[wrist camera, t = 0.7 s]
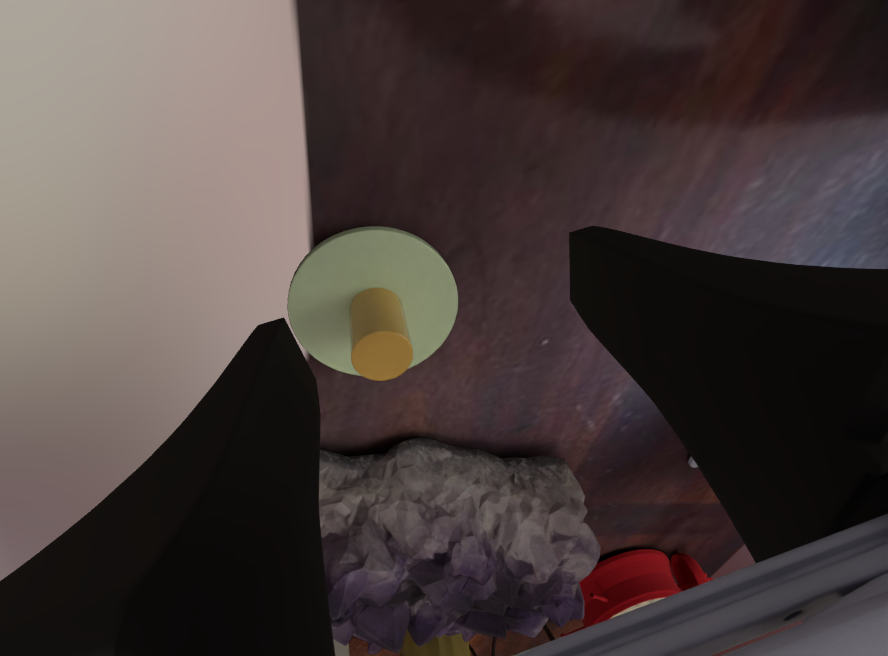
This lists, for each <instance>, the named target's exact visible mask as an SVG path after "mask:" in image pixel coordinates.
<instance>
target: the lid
mask: <svg viewBox="0 0 888 656" xmlns="http://www.w3.org/2000/svg"><path fill="white" fill-rule="evenodd" d="M457 309H458V292H457V286H456V283H455V280H454V277H453V274H452V272H451V270H450V269H449V267H448V265H447V263H446V262H445V260H444V259H443V257H442V256H441V255H440V254H439V253H438V252H437V251H436V250H435V249H434V248H433V247H432V246H431V245H430V244H428V243H427V242H426V241H424V240H422V239H421V238H419V237H417V236H415V235H413V234H411V233H408V232H406V231H402V230H399V229H395V228H389V227H382V226H368V227H360V228H354V229H350V230H346V231H343V232H341V233H338V234H336V235H333V236H332V237H330V238H328V239H326V240H324V241H323V242H321V243H320V244H319V245H317V246H316V247H314V248H313V249H312V250H311V251H310V252H309V253H308V254H307V255H306V256H305V258H304V259H303V260H302V262H301V263H300V264H299V266H298V268H297V270H296V271H295V274H294V276H293V279H292V281H291V285H290V289H289V295H288V315H289V320H290V324H291V327H292V329H293V331H294V333H295V335H296V337H297V339H298V340H299V342H300V343H301V345H302V346H303V347H304V348H305V349H306V350H307V352H309V353H310V354H311V355H312V356H313V357H314V358H315V359H317V360H318V361H320V362H321V363H323V364H325V365H327V366H329V367H331V368H333V369H335V370H338V371H341V372H344V373H348V374H352V375H359V376H363V377H365V378H368V379H371V380H376V381H384V380H390V379H393V378H396V377H398V376H399V375H401V374H402V373H404V372H405V371H406V370H407V369H409V368H411V367H413V366H415V365H417V364H419V363H420V362H422V361H424V360H425V359H427V358H428V357H429V356H430V355H432V354H433V353H434V352H435V351H436V350H437V349H438V348H439V347H440V346H441V345H442V343H443V342H444V341H445V339H446V338H447V336H448V335H449V333H450V331H451V329H452V327H453V324H454V322H455V319H456V315H457Z"/></svg>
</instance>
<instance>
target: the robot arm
mask: <svg viewBox="0 0 888 656" xmlns="http://www.w3.org/2000/svg"><path fill="white" fill-rule="evenodd" d="M569 249H570V301H571V302H572V304H573V305H574V307H575V309H576V310H577V312H578V313H579V315H580V316H581V318H582V319H583V321H584V322H585V324H586V325H587V327H588V328H589V330H590V331H591V332H592V333H593V334H594V335H595V337H596V338H597V339H598V340H599V341H600V342H601V343H602V344H603V346H604V347H605V348H606V349H607V350H608V351H609V352H610V353H611V355H612V356H613V357H614V358H615V359H616V360H617V361H618V362H619V363H620V365H621V366H622V367H623V368H624V369H625V370H626V371H627V372H628V373H629V375H630V376H631V377H632V378H633V379H634V380H635V381H636V382H637V383H638V384H639V386H640V387H641V388H642V389H643V390H644V391H645V393H646V394H647V395H648V396H649V397H650V399H651V400H652V401H653V402H654V404H655V405H656V406H657V408H658V409H659V411H660V412H661V413H662V415H663V416H664V418H665V419H666V420H667V422H668V423H669V425H670V426H671V427H672V429H673V430H674V432H675V433H676V434H677V436H678V437H679V439H680V440H681V442H682V443H683V445H684V446H685V448H686V449H687V451H688V452H689V454H690V455H691V456H690V459H689V461H688V463H689V465H690V466H691V467H693V468H696V467H699V469H700V470H701V472H702V473H703V475H704V477H705V478H706V480H707V481H708V483H709V485H710V486H711V488H712V489H713V491H714V493H715V494H716V496H717V497H718V499H719V501H720V502H721V504H722V505H723V507H724V509H725V510H726V512H727V514H728V515H729V517H730V519H731V521H732V522H733V524H734V526H735V527H736V529H737V531H738V533H739V534H740V536H741V538H742V540H743V541H744V543H745V545H746V546H747V548H748V550H749V552H750V553H751V555H752V557H753V559H754V561H755V562H756V564H754V565H751V566H748V567H745V568H743V569H740V570H737V571H735V572H732V573H730V574H727V575H724V576H722V577H719V578H716V579H714V580H711V581H708V582H706V583H703V584H701V585H698V586H695V587H693V588H690V589H687V590H685V591H682V592H679V593H677V594H674V595H671V596H669V597H666V598H664V599H661V600H658V601H656V602H653V603H650V604H648V605H645V606H642V607H640V608H637V609H635V610H632V611H629V612H627V613H624V614H621V615H619V616H616V617H613V618H611V619H608V620H605V621H603V622H600V623H598V624H595V625H592V626H590V627H587V628H584V629H582V630H579V631H576V632H574V633H571V634H569V635H566V636H563V637H561V638H558V639H555V640H553V641H550V642H547V643H545V644H542V645H540V646H537V647H534V648H532V649H529V650H526V651H524V652H521V653H518V654H516V655H513V656H711V655H713V654H715V653H718V652H721V651H723V650H726V649H728V648H731V647H733V646H736V645H738V644H741V643H743V642H746V641H749V640H751V639H754V638H756V637H758V636H761V635H764V634H766V633H769V632H771V631H774V630H776V629H779V628H781V627H784V626H787V625H789V624H792V623H794V622H797V621H799V620H802V619H804V618H805V619H804V620H803V622H802V624H800V625H797V626H795V627H792V628H789V629H787V630H784V631H782V632H779V633H777V634H774V635H772V636H769V637H767V638H764V639H762V640H759V641H757V642H754V643H752V644H749V645H747V646H744V647H742V648H739V649H737V650H734V651H731V652H729V653H726V654H724V655H721V656H888V269H857V268H835V267H821V266H807V265H794V264H784V263H775V262H768V261H760V260H753V259H745V258H738V257H732V256H726V255H721V254H716V253H711V252H706V251H701V250H696V249H691V248H687V247H682V246H678V245H674V244H669V243H665V242H661V241H657V240H653V239H649V238H645V237H642V236H638V235H634V234H630V233H626V232H622V231H617V230H613V229H608V228H603V227H597V226H590V227H587V228H583V229H580V230H577V231H573V232H570V233H569ZM319 472H320V407H319V398H318V391H317V384H316V379H315V377H314V375H313V373H312V371H311V369H310V367H309V365H308V363H307V361H306V359H305V357H304V355H303V353H302V351H301V350H300V348H299V346H298V344H297V342H296V340H295V338H294V336H293V334H292V333H291V330H290V328H289V326H288V324H287V323H286V321H285V319H284V318H281V319H277V320H274V321H270V322H267V323H264V324H261V325H258V326H257V327H256V328H255V330H254V331H253V332H252V333H251V335H250V336H249V338H248V339H247V340H246V341H245V343H244V344H243V346H242V347H241V348H240V350H239V351H238V352H237V354H236V355H235V357H234V358H233V359H232V361H231V362H230V363H229V365H228V366H227V367H226V369H225V370H224V372H223V373H222V374H221V376H220V377H219V378H218V380H217V381H216V382H215V384H214V385H213V386H212V387H211V389H210V390H209V391H208V392H207V394H206V395H205V396H204V397H203V398H202V400H201V401H200V402H199V403H198V404H197V406H196V407H195V408H194V410H193V411H192V412H191V413H190V414H189V415H188V417H187V418H186V419H185V420H184V421H183V422H182V424H181V425H180V426H179V427H178V428H177V429H176V430H175V431H174V432H173V434H172V435H171V436H170V437H169V438H168V439H167V440H166V441H165V442H164V443H163V444H162V445H161V446H160V447H159V448H158V449H157V450H156V451H155V452H154V453H153V454H152V456H150V457H149V458H148V459H147V461H145V462H144V463H143V464H142V465H141V466H140V467H139V468H138V469H137V470H136V471H135V472H134V473H133V474H131V475H130V476H129V477H128V478H127V479H126V480H125V481H124V482H123V483H121V484H120V485H119V486H118V487H117V488H116V489H115V490H114V491H113V492H112V493H110V494H109V495H108V496H107V497H106V498H105V499H104V500H103V501H102V502H101V503H99V504H98V505H97V506H96V507H95V508H94V509H92V510H91V511H90V512H89V513H88V514H87V515H85V516H84V517H83V518H81V519H80V520H79V521H78V522H77V523H75V524H74V525H73V526H72V527H71V528H69V529H68V530H67V531H66V532H64V533H63V534H62V535H61V536H59V537H58V538H57V539H56V540H54V541H53V542H52V543H50V544H49V545H48V546H47V547H45V548H44V549H43V550H42V551H40V552H39V553H38V554H36V555H35V556H34V557H33V558H31V559H30V560H29V561H27V562H26V563H24V564H23V565H22V566H21V567H19V568H18V569H17V570H15V571H14V572H12V573H11V574H10V575H8V576H7V577H5V578H4V579H3V580H1V581H0V656H335V649H334V641H333V633H332V626H331V618H330V611H329V603H328V595H327V586H326V577H325V568H324V559H323V549H322V538H321V527H320V515H319Z"/></svg>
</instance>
